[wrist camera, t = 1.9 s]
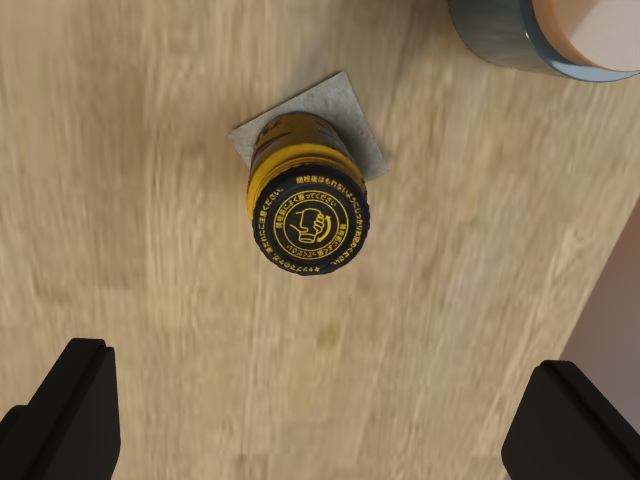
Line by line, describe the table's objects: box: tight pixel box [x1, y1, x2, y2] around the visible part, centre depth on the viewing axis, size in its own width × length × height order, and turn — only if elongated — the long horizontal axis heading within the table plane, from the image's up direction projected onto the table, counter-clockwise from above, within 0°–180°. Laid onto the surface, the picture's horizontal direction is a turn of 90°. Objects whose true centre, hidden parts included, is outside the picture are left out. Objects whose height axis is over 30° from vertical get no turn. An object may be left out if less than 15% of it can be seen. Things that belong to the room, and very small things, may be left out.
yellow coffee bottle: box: [227, 71, 389, 276], centre depth 25 cm, size 7×8×12 cm
